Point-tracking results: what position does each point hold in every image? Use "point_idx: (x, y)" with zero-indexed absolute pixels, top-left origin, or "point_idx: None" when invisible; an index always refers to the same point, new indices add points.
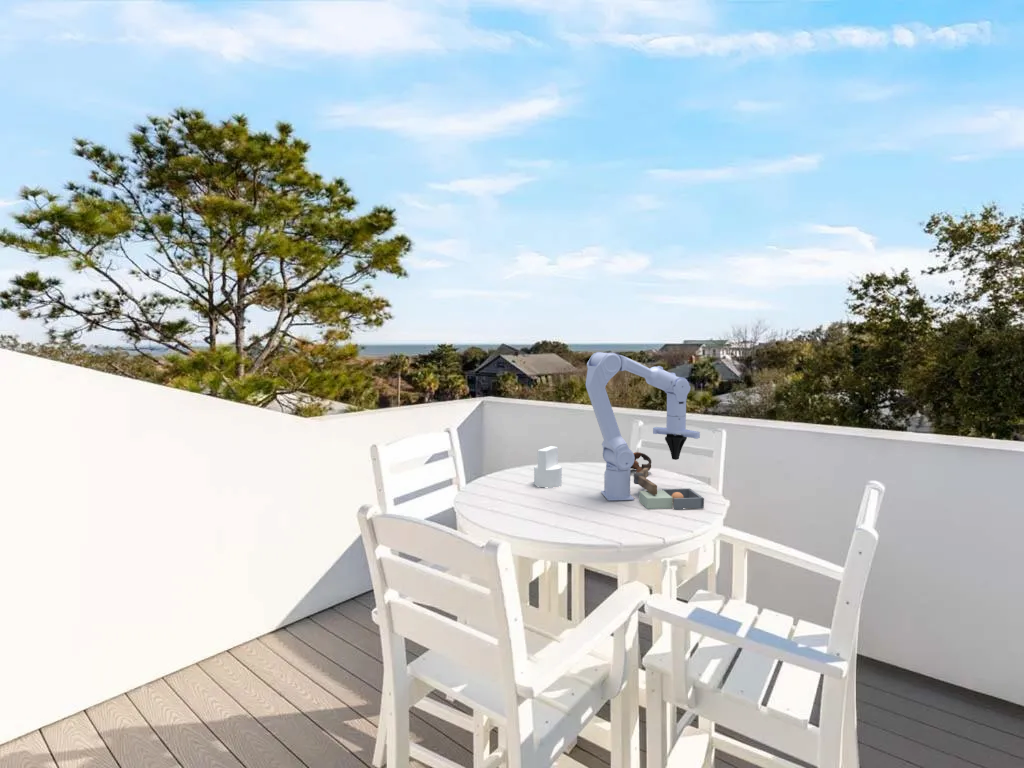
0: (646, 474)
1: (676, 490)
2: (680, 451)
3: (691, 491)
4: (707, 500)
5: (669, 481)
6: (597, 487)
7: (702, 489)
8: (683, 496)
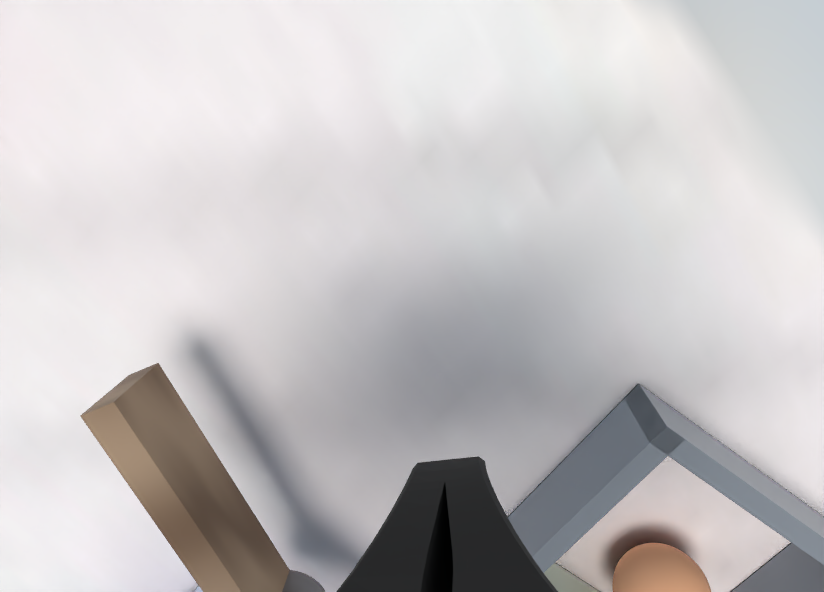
0: (183, 441)
1: (592, 517)
2: (511, 529)
3: (723, 494)
4: (777, 335)
5: (182, 24)
6: (33, 578)
7: (580, 44)
8: (708, 589)
